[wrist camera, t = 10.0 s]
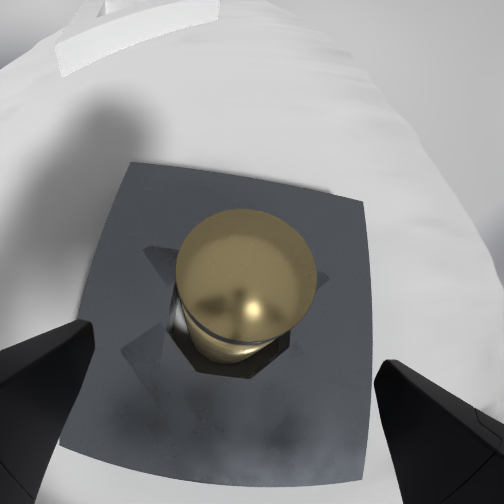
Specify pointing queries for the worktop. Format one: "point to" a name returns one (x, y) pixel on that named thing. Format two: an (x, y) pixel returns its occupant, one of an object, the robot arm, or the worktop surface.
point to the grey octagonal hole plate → (214, 386)
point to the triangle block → (124, 26)
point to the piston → (243, 282)
